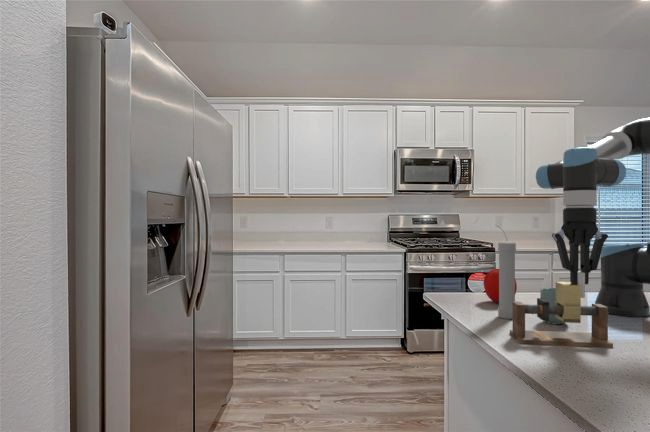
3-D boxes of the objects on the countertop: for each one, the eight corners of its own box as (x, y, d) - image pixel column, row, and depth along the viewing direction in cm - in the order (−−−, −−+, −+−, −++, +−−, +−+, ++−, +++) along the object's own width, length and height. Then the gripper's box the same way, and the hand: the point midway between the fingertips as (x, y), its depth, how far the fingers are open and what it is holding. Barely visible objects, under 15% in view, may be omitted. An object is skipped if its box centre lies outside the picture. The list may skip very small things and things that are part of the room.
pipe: (518, 319, 128) (518, 224, 128) (497, 318, 130) (497, 224, 129) (513, 315, 134) (513, 224, 134) (493, 314, 135) (493, 224, 135)
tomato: (519, 301, 155) (519, 266, 155) (514, 307, 145) (514, 270, 144) (486, 297, 161) (486, 264, 161) (480, 303, 151) (480, 268, 151)
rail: (595, 336, 111) (595, 301, 111) (613, 347, 102) (613, 309, 102) (509, 333, 114) (509, 299, 114) (520, 343, 105) (520, 307, 105)
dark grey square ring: (541, 316, 111) (541, 298, 111) (549, 321, 106) (549, 302, 106) (537, 316, 111) (537, 298, 111) (544, 321, 106) (544, 302, 106)
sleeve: (571, 317, 110) (571, 282, 110) (580, 322, 105) (580, 285, 105) (555, 317, 110) (555, 281, 110) (563, 322, 105) (563, 285, 105)
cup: (559, 327, 120) (559, 293, 119) (535, 321, 126) (535, 289, 126) (575, 324, 123) (575, 291, 123) (550, 318, 130) (550, 287, 130)
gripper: (599, 207, 109) (599, 294, 110) (547, 207, 112) (547, 293, 112) (614, 206, 102) (614, 300, 102) (558, 207, 104) (558, 298, 104)
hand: (579, 296), depth 107 cm, fingers closed
